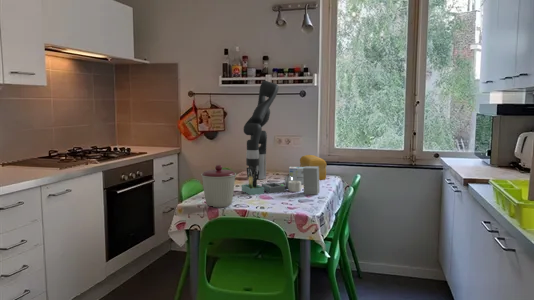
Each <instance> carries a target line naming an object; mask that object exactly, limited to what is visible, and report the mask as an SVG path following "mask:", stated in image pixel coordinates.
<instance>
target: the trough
mask: <svg viewBox="0 0 534 300" xmlns="http://www.w3.org/2000/svg"><path fill="white" fill-rule="evenodd" d="M241 191H242V192H243V191H244V193H245V192H246V193H245V194H247V193H248V194H247V195H249V196H256V195H255V194H257V195H264V193H265V191H264V188H263V187H262V185H259V184H257V188H253V189H250V188H249V183H248V184H241Z"/></svg>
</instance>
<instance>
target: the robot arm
mask: <svg viewBox="0 0 534 300" xmlns="http://www.w3.org/2000/svg"><path fill="white" fill-rule="evenodd" d="M258 92H259V93H258V100H257V106H256V107H255V109H254V111H253V112H252V116H251V117H250V118H248V120H247V121H246V122H245V123H244V126H243V133H244V134H245V135H246V136H250V139H247V140H246V153H245V155H246V157H245V158H246V159H245V162H246V163H245V164H246V177H247V178H248V179H249V176H251V177H252V180H253V187H256V186H257V185H258V181H259V180H264V179H267V142H268V135H267V133H268V132H267V131H266V130H263V127H264V126H265V125H266V124H267V123H268V122H269V119H270V115H271V109H270V108H271V105H272V104H273V103H274V100H275V99H276V97H277V95H278V92H279V85H278V84H277V83H274V82H271V81H269V80H263V81H262V82H261V83H260V87H259V91H258ZM266 98H267V99H266ZM247 166H248V167H247Z"/></svg>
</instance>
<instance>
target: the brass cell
mask: <svg viewBox="0 0 534 300" xmlns="http://www.w3.org/2000/svg"><path fill="white" fill-rule="evenodd" d="M248 184H249V188H250V189H253V188H257V186H256V187H253V180H252V177H251V176H249V178H248Z"/></svg>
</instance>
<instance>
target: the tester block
mask: <svg viewBox="0 0 534 300" xmlns="http://www.w3.org/2000/svg"><path fill="white" fill-rule="evenodd" d="M261 187H263V188H264V192H266V193H268V194H278V193H285V192H286V189H285V184H282V183H278V182H268V183H261Z"/></svg>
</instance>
